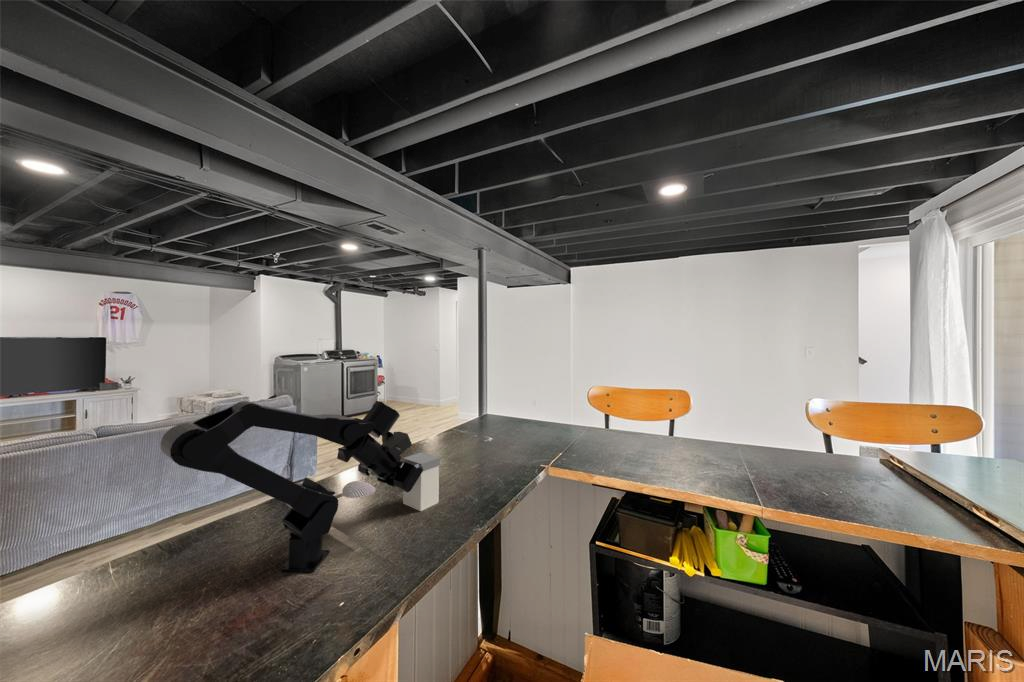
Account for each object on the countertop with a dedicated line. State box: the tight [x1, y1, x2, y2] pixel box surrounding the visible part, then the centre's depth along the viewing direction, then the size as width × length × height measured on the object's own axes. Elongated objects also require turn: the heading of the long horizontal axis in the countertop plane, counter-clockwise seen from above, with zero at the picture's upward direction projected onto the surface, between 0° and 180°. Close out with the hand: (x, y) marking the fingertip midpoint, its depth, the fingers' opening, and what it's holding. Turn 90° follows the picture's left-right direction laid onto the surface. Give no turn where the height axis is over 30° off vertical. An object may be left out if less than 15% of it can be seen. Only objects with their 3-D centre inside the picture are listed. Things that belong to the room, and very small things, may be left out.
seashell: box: [340, 480, 376, 499], centre depth 103 cm, size 10×6×10 cm
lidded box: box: [402, 451, 441, 512], centre depth 96 cm, size 6×7×12 cm
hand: (409, 485), depth 93 cm, fingers closed
